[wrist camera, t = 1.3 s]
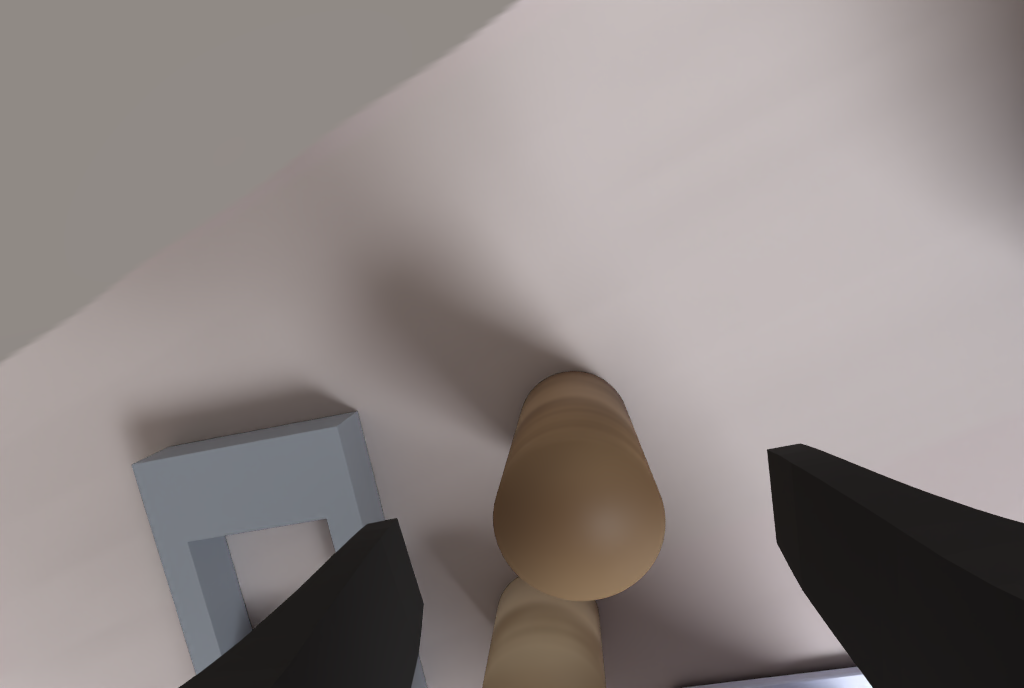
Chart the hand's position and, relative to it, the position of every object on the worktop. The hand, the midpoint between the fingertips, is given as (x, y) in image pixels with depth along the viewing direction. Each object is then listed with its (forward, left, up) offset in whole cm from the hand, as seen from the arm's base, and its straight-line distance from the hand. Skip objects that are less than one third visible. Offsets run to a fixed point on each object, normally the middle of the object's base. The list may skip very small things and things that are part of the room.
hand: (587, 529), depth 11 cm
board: (-5, +12, -10) cm, 17 cm away
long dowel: (-1, 0, -10) cm, 10 cm away
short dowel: (-8, +3, -10) cm, 14 cm away
